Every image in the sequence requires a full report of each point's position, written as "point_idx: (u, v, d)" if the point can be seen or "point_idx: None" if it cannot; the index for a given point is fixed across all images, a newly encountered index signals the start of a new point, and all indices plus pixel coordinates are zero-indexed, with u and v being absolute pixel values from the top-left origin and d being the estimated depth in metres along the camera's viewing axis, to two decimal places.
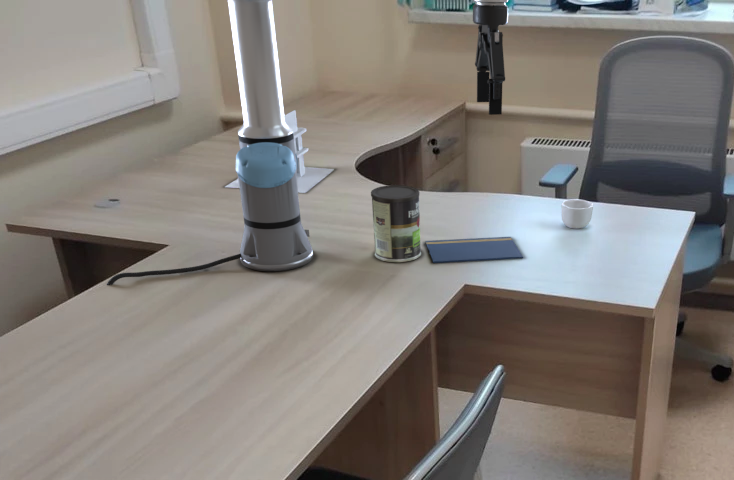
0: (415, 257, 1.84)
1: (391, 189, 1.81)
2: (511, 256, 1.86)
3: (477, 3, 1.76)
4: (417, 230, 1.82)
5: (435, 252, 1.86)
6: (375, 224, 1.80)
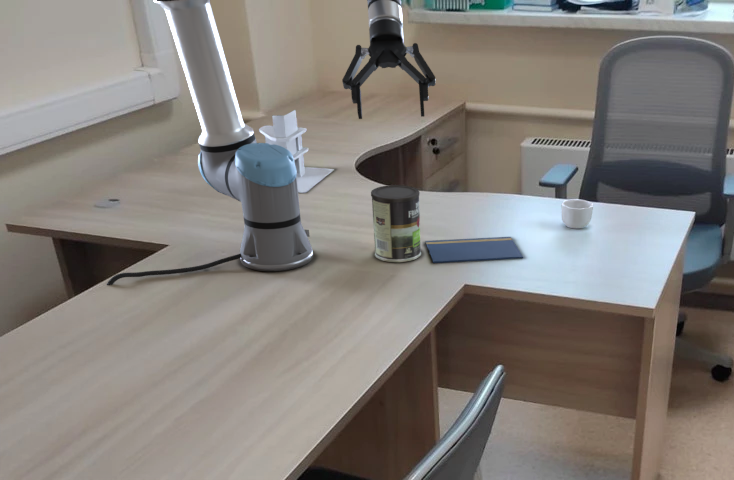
0: (415, 257, 1.84)
1: (391, 189, 1.81)
2: (511, 256, 1.86)
3: (389, 18, 1.85)
4: (417, 230, 1.82)
5: (435, 252, 1.86)
6: (375, 224, 1.80)
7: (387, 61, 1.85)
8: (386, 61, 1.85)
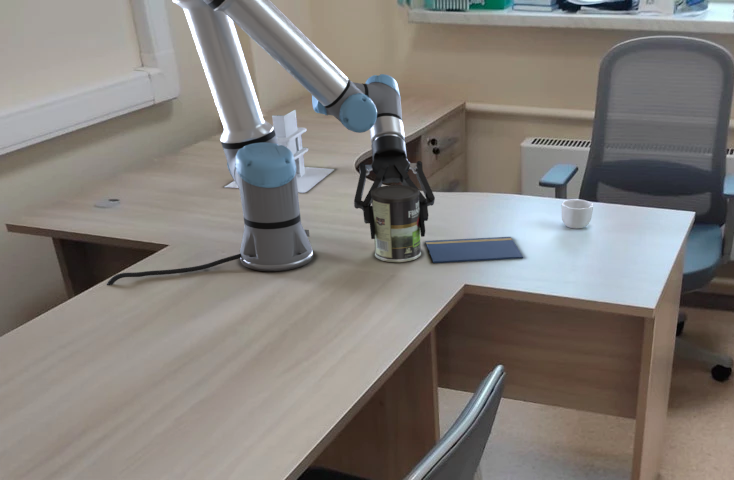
0: (415, 257, 1.84)
1: (391, 189, 1.81)
2: (511, 256, 1.86)
3: (393, 134, 1.84)
4: (417, 230, 1.82)
5: (435, 252, 1.86)
6: (375, 224, 1.80)
7: (391, 177, 1.83)
8: (390, 177, 1.83)
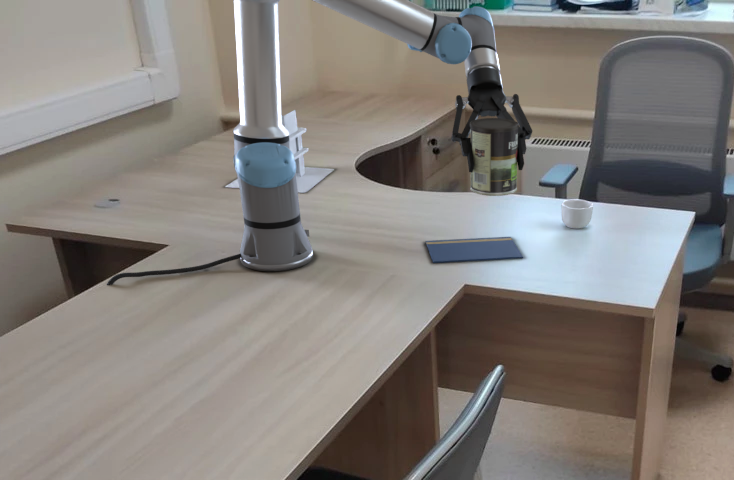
0: (512, 191, 1.81)
1: (489, 121, 1.78)
2: (511, 256, 1.86)
3: (489, 67, 1.81)
4: (515, 163, 1.79)
5: (435, 252, 1.86)
6: (473, 156, 1.77)
7: (488, 109, 1.80)
8: (487, 109, 1.80)
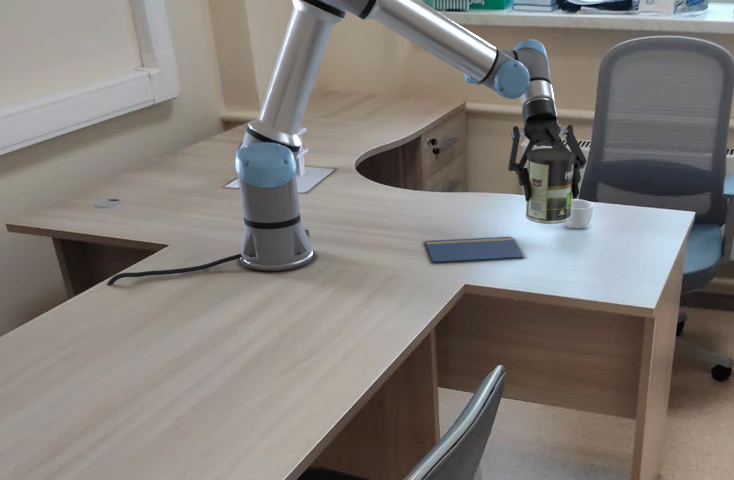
0: (567, 219, 1.87)
1: (545, 152, 1.84)
2: (511, 256, 1.86)
3: (545, 98, 1.86)
4: (570, 192, 1.85)
5: (435, 252, 1.86)
6: (530, 186, 1.83)
7: (544, 140, 1.86)
8: (543, 140, 1.86)
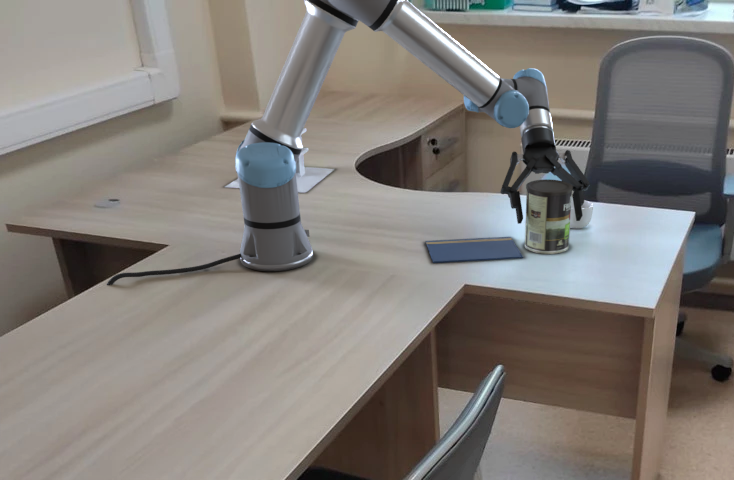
0: (565, 249, 1.90)
1: (544, 183, 1.87)
2: (511, 256, 1.86)
3: (544, 126, 1.90)
4: (568, 223, 1.88)
5: (435, 252, 1.86)
6: (529, 217, 1.86)
7: (543, 167, 1.89)
8: (542, 167, 1.89)
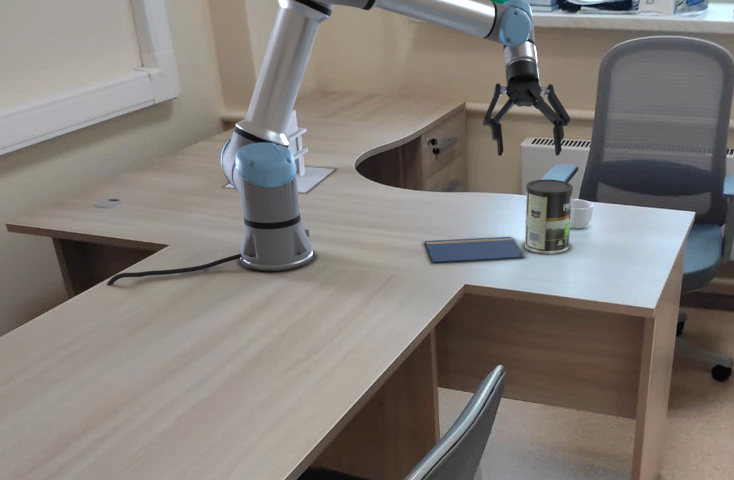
0: (565, 249, 1.90)
1: (544, 183, 1.87)
2: (511, 256, 1.86)
3: (528, 59, 1.93)
4: (568, 223, 1.88)
5: (435, 252, 1.86)
6: (529, 217, 1.86)
7: (525, 101, 1.94)
8: (524, 100, 1.94)
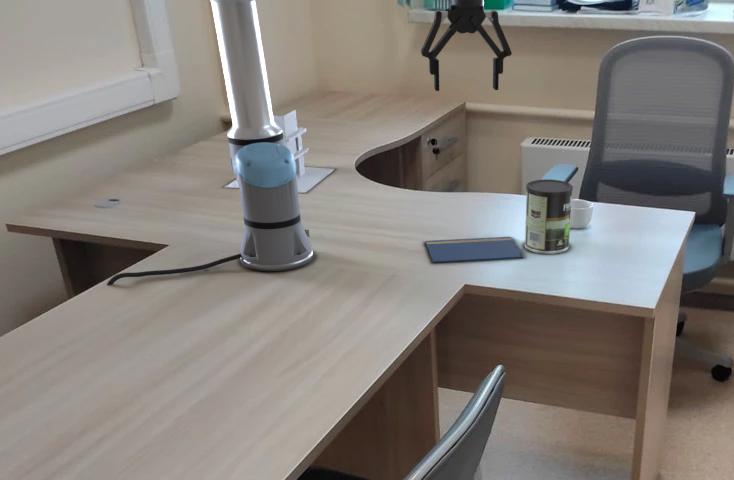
0: (565, 249, 1.90)
1: (544, 183, 1.87)
2: (511, 256, 1.86)
3: None
4: (568, 223, 1.88)
5: (435, 252, 1.86)
6: (529, 217, 1.86)
7: (466, 31, 1.85)
8: (465, 31, 1.85)
